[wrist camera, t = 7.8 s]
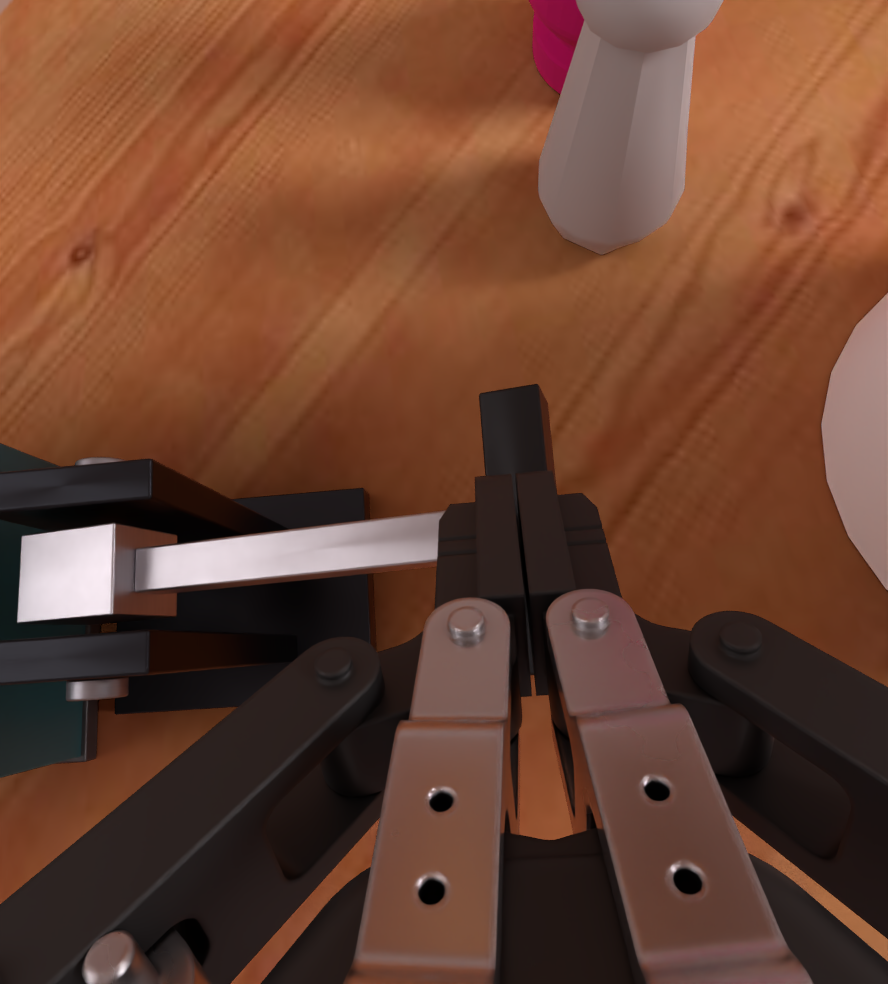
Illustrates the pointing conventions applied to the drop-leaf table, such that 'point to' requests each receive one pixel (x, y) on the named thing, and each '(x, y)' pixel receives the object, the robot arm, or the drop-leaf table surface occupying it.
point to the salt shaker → (622, 121)
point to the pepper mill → (555, 38)
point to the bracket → (200, 614)
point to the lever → (256, 542)
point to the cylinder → (861, 438)
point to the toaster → (41, 706)
